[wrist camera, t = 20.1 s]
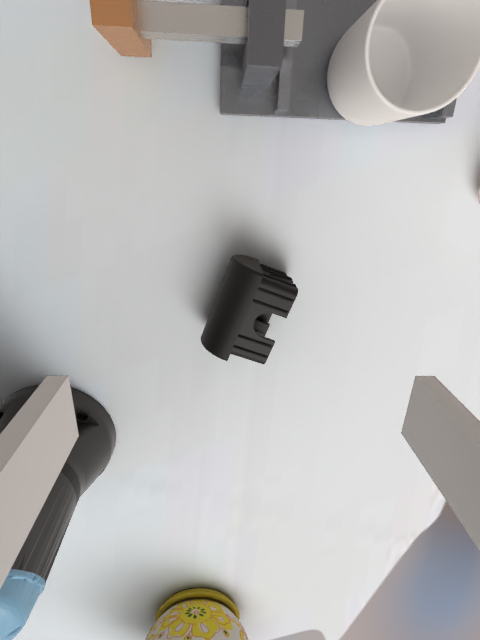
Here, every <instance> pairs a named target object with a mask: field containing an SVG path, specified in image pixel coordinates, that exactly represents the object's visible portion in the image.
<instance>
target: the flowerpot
mask: <svg viewBox="0 0 480 640" xmlns="http://www.w3.org/2000/svg"><path fill="white" fill-rule="evenodd" d="M146 640H248V638H247V635H246V633H245V630H244V628H243V627H242V625H241V623H240V622H239V611H238V609H237V607H236V606H235V605H234V604H233V603H232V602H231V600H230V599H229V598H228V597H227V596H226V595H224V594H222V593H221V592H218V591H215V590H212V589H206V588H194V589H188V590H184V591H181V592H178V593H176V594H174V595H173V596H171V597H170V598H169V599H168V600H167V601H166V602H165V603H164V604H163V605H162V606H161V607H160V609H159V610H158V612H157V615H156V623H155V624H154V625H153V627H152V628H151V630H150V632H149V634H148V635H147V637H146Z"/></svg>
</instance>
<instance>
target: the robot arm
mask: <svg viewBox="0 0 480 640" xmlns="http://www.w3.org/2000/svg"><path fill="white" fill-rule="evenodd" d="M401 434H402V435H403V437H404V438H405V440H406V441H407V442H408V444H409V445H410V447H411V448H412V450H413V451H414V453H415V454H416V456H417V457H418V459H419V460H420V462H421V463H422V465H423V466H424V468H425V469H426V471H427V472H428V474H429V475H430V477H431V478H432V480H433V481H434V483H435V484H436V486H437V487H438V489H439V490H440V492H441V493H442V495H443V496H444V498H445V499H446V501H447V502H448V504H449V505H450V507H451V508H452V510H453V511H454V513H455V514H456V516H457V517H458V519H459V520H460V522H461V523H462V525H463V526H464V528H465V529H466V531H467V532H468V534H469V535H470V537H471V538H472V540H473V541H474V543H475V544H476V546H477V547H478V549H479V550H480V421H479V420H478V419H477V418H476V417H475V416H474V415H473V414H472V413H471V412H470V411H469V410H468V409H467V408H466V407H465V406H464V405H463V404H462V403H461V402H460V401H459V400H458V399H457V398H456V397H455V396H454V395H453V394H452V393H451V392H450V391H449V390H448V389H447V388H446V387H445V386H444V385H443V384H442V383H441V382H440V381H439V380H438V379H437V378H436V377H435V376H415V380H414V384H413V388H412V392H411V396H410V400H409V404H408V408H407V412H406V416H405V420H404V424H403V428H402V432H401ZM115 442H116V432H115V428H114V425H113V422H112V420H111V418H110V416H109V415H108V413H107V412H106V411H105V409H104V408H103V407H102V406H101V405H100V404H99V403H97V402H96V401H95V400H94V399H92V398H91V397H89V396H88V395H86V394H84V393H82V392H80V391H77V390H75V389H72V388H71V387H70V381H69V376H46V378H45V379H44V380H43V381H42V383H41V384H40V385H36V386H31V387H27V388H24V389H22V390H20V391H17V392H16V393H14V394H13V395H11V396H10V397H9V398H8V399H7V400H6V401H5V402H4V403H3V404H2V405H1V406H0V640H12V639H13V638H14V637H15V636H16V635H17V634H18V633H19V632H20V631H21V629H22V628H23V626H24V625H25V623H26V621H27V619H28V617H29V615H30V613H31V611H32V609H33V607H34V605H35V602H36V600H37V598H38V596H39V595H40V594H41V593H42V591H43V590H44V586H45V585H46V584H45V583H46V580H47V578H48V575H49V573H50V570H51V568H52V565H53V563H54V560H55V557H56V555H57V552H58V550H59V547H60V545H61V542H62V540H63V537H64V535H65V532H66V530H67V527H68V525H69V522H70V520H71V517H72V515H73V512H74V509H75V507H76V504H77V502H78V500H79V497H80V496H81V495H82V494H83V493H84V492H85V491H86V490H87V488H88V487H89V486H90V485H91V484H92V483H93V482H94V480H95V479H96V478H97V477H98V476H99V475H100V474H101V473H102V472H103V471H104V469H105V468H106V466H107V465H108V463H109V461H110V458H111V455H112V453H113V450H114V447H115Z"/></svg>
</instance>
